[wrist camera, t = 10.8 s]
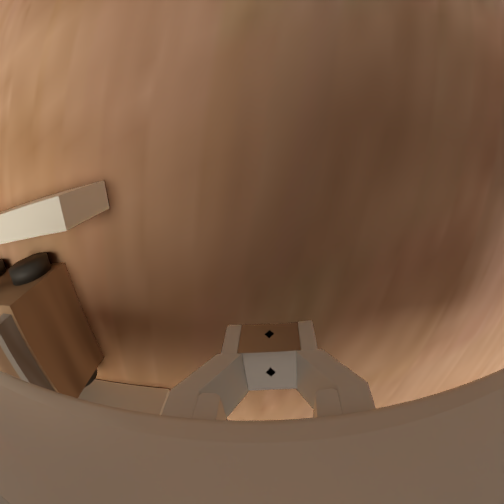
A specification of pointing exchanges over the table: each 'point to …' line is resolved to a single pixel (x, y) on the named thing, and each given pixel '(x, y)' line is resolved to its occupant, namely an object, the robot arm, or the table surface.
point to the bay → (62, 219)
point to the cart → (45, 327)
